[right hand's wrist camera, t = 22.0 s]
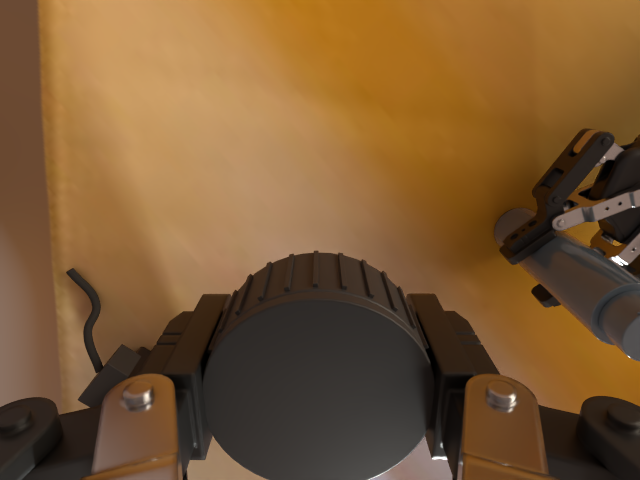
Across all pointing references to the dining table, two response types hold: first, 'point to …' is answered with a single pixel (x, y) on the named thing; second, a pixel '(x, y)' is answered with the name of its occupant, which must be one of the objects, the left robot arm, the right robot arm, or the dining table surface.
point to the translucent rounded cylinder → (583, 284)
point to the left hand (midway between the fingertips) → (523, 278)
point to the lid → (318, 372)
